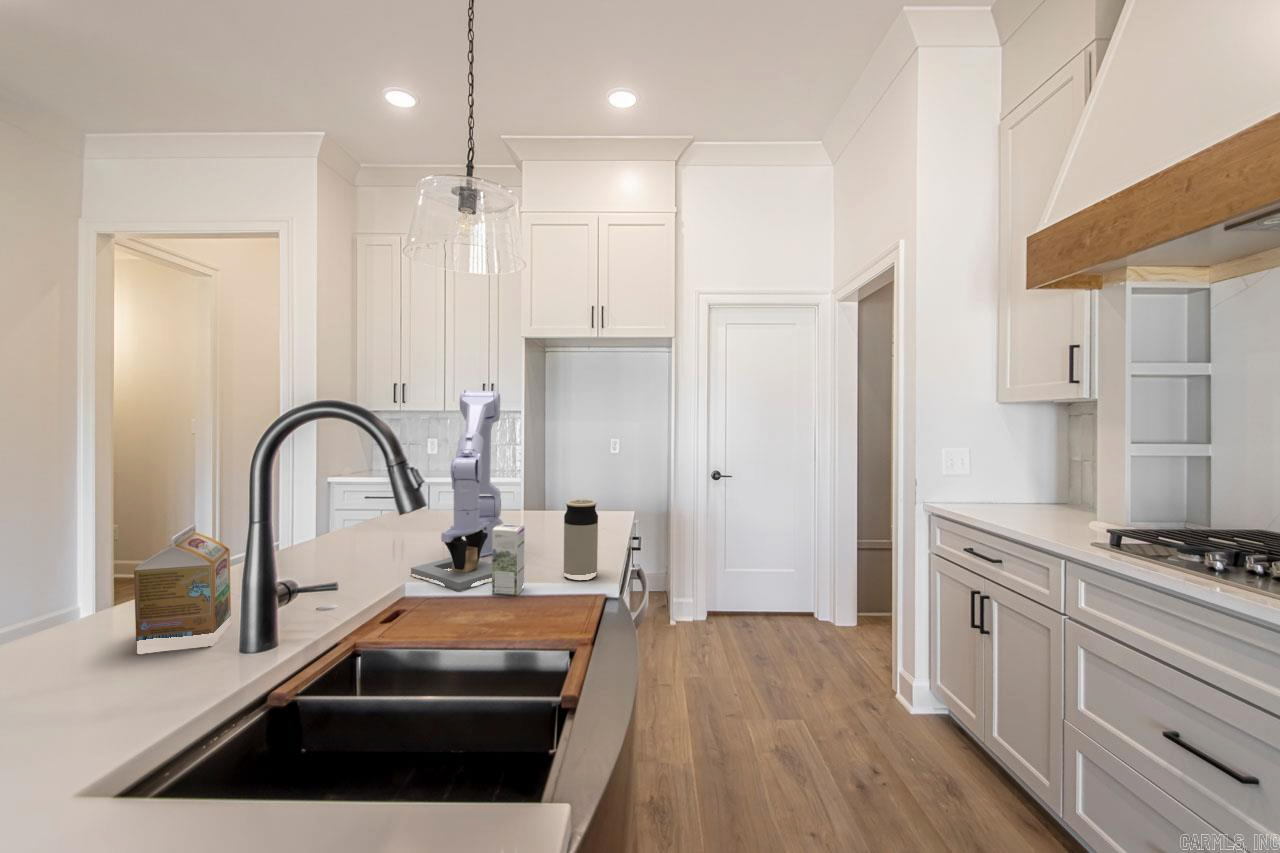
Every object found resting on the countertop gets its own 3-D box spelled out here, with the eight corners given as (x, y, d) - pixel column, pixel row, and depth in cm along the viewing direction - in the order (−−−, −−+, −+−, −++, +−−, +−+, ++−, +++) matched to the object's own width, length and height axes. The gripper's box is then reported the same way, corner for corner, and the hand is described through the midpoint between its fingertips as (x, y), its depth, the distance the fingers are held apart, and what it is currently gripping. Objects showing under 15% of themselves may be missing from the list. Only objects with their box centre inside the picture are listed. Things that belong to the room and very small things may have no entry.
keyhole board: (460, 563, 153) (460, 555, 153) (508, 576, 143) (508, 568, 142) (410, 575, 142) (410, 567, 142) (458, 591, 131) (458, 582, 131)
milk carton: (161, 630, 108) (158, 525, 107) (231, 624, 111) (228, 522, 110) (136, 655, 98) (133, 539, 97) (213, 646, 102) (210, 535, 101)
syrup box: (525, 587, 135) (525, 523, 134) (517, 596, 129) (517, 529, 128) (500, 586, 135) (500, 522, 135) (491, 595, 130) (491, 528, 129)
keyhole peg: (463, 572, 144) (463, 545, 143) (477, 574, 142) (477, 547, 142) (452, 577, 140) (452, 549, 140) (466, 579, 138) (466, 551, 138)
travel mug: (601, 579, 142) (602, 503, 141) (568, 583, 139) (569, 505, 138) (591, 570, 149) (592, 498, 148) (560, 573, 146) (560, 499, 145)
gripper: (473, 502, 148) (473, 556, 149) (430, 512, 135) (430, 571, 136) (496, 504, 145) (496, 560, 146) (455, 515, 132) (455, 576, 133)
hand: (466, 566), depth 141 cm, fingers open, 4 cm apart
